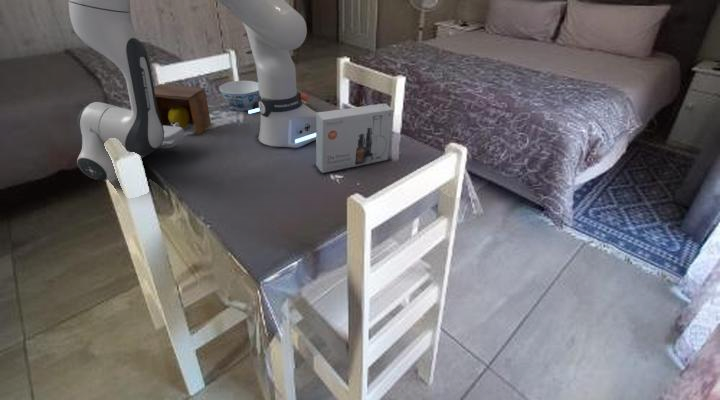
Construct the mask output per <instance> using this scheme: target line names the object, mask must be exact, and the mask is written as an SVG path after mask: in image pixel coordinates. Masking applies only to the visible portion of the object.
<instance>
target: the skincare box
mask: <svg viewBox="0 0 720 400" xmlns="http://www.w3.org/2000/svg"><path fill="white" fill-rule="evenodd" d="M394 110H395V109H394V108H393V107H391V106H390V105H388V104H387V103H378V104H369V105H363V106H356V107H348V108H342V109H341V108H339V109H333V110H326V111H318V112H316V140H315V148H316V149H315V155H316V156H315V158H316V159H315V166H316V168H317V169H318V170H319V171H320V172H321V173H322V174H324V173H325V174H326V173H331V172H335V171H339V170H344V169H349V168H354V167H360V166H364V165H370V164H375V163H379V162H380V163H381V162H383V161H388V160H389V153H390V144H391V135H392V127H393V120H394V119H393V118H394Z"/></svg>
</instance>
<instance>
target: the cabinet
mask: <svg viewBox="0 0 720 400" xmlns="http://www.w3.org/2000/svg"><path fill="white" fill-rule="evenodd" d="M154 91H155V97H156V103H157V109H158V113H159V117H160V120H161V122H162V125H164V126H168V124H169V123H170V121H169V119H168V113H169V111H170V109H171V108H173V107H176V106H181V107H184V108H186V109H187V110H188V112H189V115H190V121H189V124H188V125H193V127H194V132H195V135H196V136H200V134H202V133H203V132H205V130H207V129H208V128H209V127H211V126H212V121H211V116H210V110H209V107H208V106H209V105H208V99H207V94H206V89H205V87H201V86H190V85H178V84H166V83H159V84H157V85H154Z"/></svg>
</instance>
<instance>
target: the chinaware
mask: <svg viewBox="0 0 720 400" xmlns="http://www.w3.org/2000/svg"><path fill="white" fill-rule="evenodd" d="M218 90H219V92H220V94H221V96H222V98H223V100H224V101H225V102H226V103H227V104H229V105H230V106H232V107H233V109H234V110H236V111H240V112H244V111H245V112H246V111H249V110H253V108H254V105H256V104H257V102H258V94H259V87H258V81H253V80H235V81H233V80H232V81H227V82H225V83H223V84H220V85H219V87H218Z"/></svg>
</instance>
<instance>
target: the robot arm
mask: <svg viewBox="0 0 720 400" xmlns="http://www.w3.org/2000/svg"><path fill="white" fill-rule="evenodd" d="M216 1H217V2H218V4H220V5H221V6H222V7H223V8H224V9H225V10H227V11H228V12H229V13H231V14H232V15H233V16H234V17H236V18H237V19H238V20H240V22H241V23H242V25H243V28H244V30H245V31H246V35H247V39H248V42H249V47H250V51H251V53H252V56H253V60H254V64H255V70H256V76H257V77H256V78H257V83H258V87H259V94H258V101H257V102H258V107H257V108H254V109H253V108H252V109H250V110H247V111H248V115H249V114H254V113H257V112H259V113H260V125H259V133H258V141H259V142H260V143H261V144H263V145H266V146H269V147H274V148H275V147H277V148H285V147H286V148H292V149H293V148H294V149H298V148H301V147H303V146H305V145H307V144H309V143H312V142H314V141H316V113H317V112H316V111H315V110H313V109H312V108H310V107H309V106H308V105H307V104H306V105H304V104H303V103H302V101H301V100H303V101H307V102H308V101H309V99H310V97H309V95H308V94H305V93H301V92H299V91H298V90H297V88H298V87H297V70H296V65H295V63H294V61H293V59H292V56H291V53H290V51H293V50H296V49H298V48H300V47H301V46H302V45H303V44H304V42H305V40H306V38H307V33H308V30H307V29H308V27H307V23H306V20H305V18H304V17H303V16H302V14H301V13H299V12H298V11H297V10H296V9H295V8H294V7H292V6H291V5H290V4H289V2H287V1H286V0H216ZM68 13H69V18H70V23H71V27H72V28H73V31H74V33H75V34H76V35H77V36H78V38H79V39H80V40H82V42H83V43H85V45H87V46H88V47H90V48H91V49H92V50H93V51H95V52H98V53H99V54H100V55H102V56H104V58H106V59H107V60H109V61H110V62H112V64H114V65H115V66H116V67H117V68H118V69H119V70H120V71H121V73H122V75H123V77H124V80H125V83H126V88H127V93H128V94H127V95H128V99H129V104H130V109H129V108H125V107H121V106H118V105H114V104H110V103H105V102H101V101H92V102H90V103H88V104H86V105H85V106H84V107H82V109H81V110H80V112H79V113H78V115H77V118H76V126H77V129H78V130H77V131H78V132H79V134H80V137H81V150H80V153H79V155H78V157H77V159H76V164H77V167H78V169H79V170H80V171H81V173H83V174H84V175H85V176H87V177H89V178H90V179H92V180H95V181H100V182H106V181H109V180H112V179H115V178H116V177H117V176H116V173H115V169H114V166H113V163H112V160H111V158H110V156H109V154H108V152H107V151H106V149H105V146H104V143H105V142H106V141H107V140H108V139H109V138H116V139H118V140H119V141H120V142H121V143H122V145H123V146H124V147H125V148H126V150H127V151H129V152H135V153H137V154H139V155H140V156H141V158H142V159H143V158H144V157H146V156H147V155H150V154H152V153H154V152H156V151H157V150H158V149H159V148H161V149H170V148H173V147H175V146H178V145H179V144H180V143H182V142H184V141H185V139H186V134H185V131H184V129H183V128H182V127H180V126H179V123H176V122H173V123H172V124H171V123H170V125H165V126H164V125H162V122H161V120H160V117H159V113H158V109H157V103H156V97H155V91H154V87H155V85H154V79H153V74H152V68H151V64H150V58H149V54H148V52H147V48H146V46H145V45H144V44H143V43H142V42H141V41H140V40H139V38H138V36H137V33H136V32H135V28H134V26H133V22H132V16H131V15H132V14H131V0H68Z"/></svg>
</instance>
